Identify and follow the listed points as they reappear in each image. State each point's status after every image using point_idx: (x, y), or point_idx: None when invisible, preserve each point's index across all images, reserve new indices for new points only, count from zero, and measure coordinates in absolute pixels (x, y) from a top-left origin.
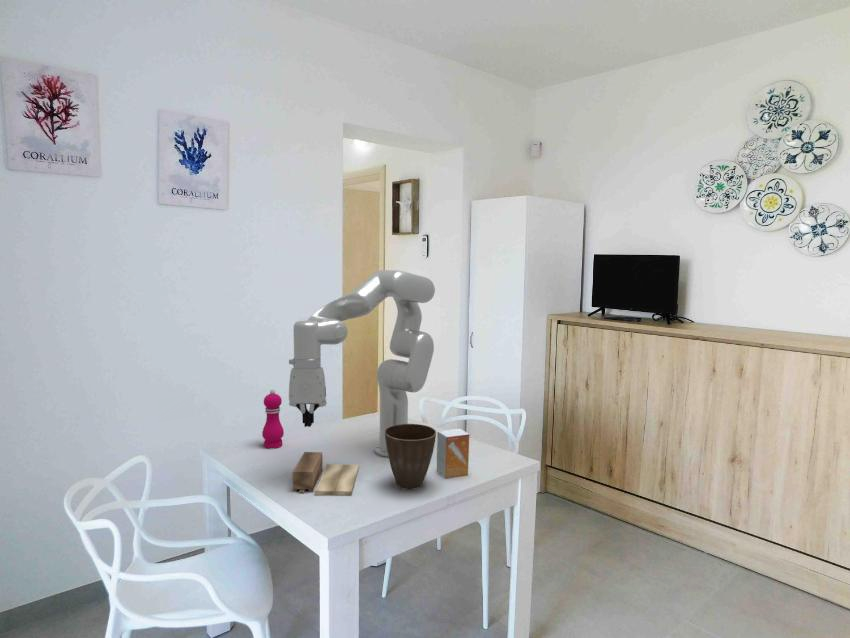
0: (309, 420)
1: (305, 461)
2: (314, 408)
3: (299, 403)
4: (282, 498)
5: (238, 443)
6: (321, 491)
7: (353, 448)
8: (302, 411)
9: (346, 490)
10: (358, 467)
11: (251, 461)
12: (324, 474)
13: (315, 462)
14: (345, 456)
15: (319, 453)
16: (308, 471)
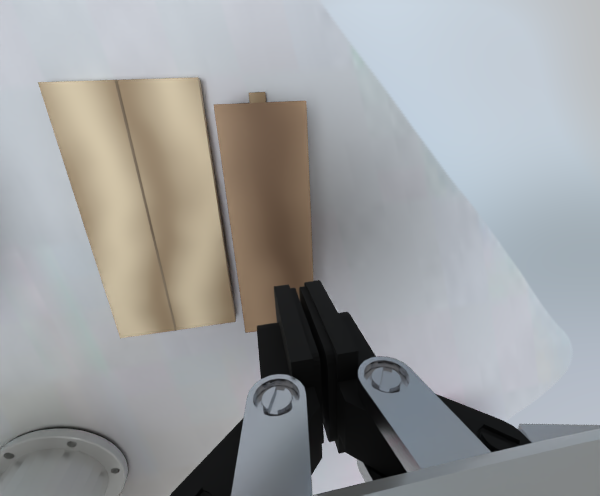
0: (283, 313)
1: (284, 227)
2: (236, 459)
3: (543, 445)
4: (312, 42)
5: (509, 414)
6: (172, 78)
7: (202, 457)
8: (393, 375)
9: (65, 91)
10: (114, 318)
11: (463, 320)
12: (216, 239)
13: (238, 223)
14: (206, 404)
15: (252, 318)
16: (235, 109)
